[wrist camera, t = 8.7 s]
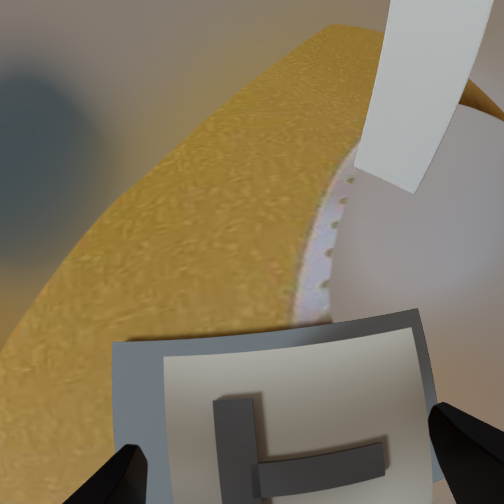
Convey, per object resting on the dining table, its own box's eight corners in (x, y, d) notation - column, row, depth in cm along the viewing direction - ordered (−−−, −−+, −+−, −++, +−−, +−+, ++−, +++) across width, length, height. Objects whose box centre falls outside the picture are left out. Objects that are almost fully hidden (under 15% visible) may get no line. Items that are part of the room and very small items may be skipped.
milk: (370, 132, 28) (410, -78, 9) (425, 157, 26) (491, -47, 7) (352, 168, 26) (398, -90, 7) (414, 197, 24) (505, -50, 5)
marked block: (327, 464, 14) (436, 541, 3) (238, 474, 14) (184, 581, 3) (318, 383, 17) (415, 324, 6) (231, 393, 17) (160, 354, 6)
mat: (437, 476, 14) (444, 477, 13) (130, 513, 13) (124, 517, 12) (411, 312, 19) (417, 308, 18) (118, 345, 19) (112, 341, 18)
